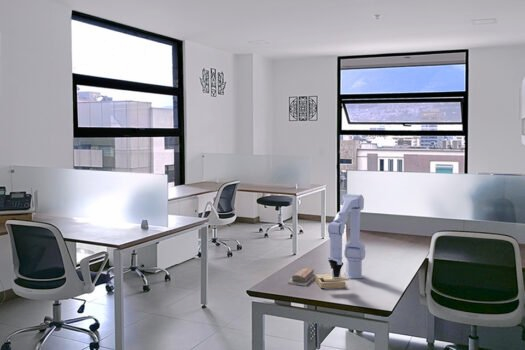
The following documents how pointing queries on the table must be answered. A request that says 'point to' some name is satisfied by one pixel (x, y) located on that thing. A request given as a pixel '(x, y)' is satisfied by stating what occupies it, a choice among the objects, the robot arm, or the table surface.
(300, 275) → the packaged product
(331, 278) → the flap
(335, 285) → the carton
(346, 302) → the table surface
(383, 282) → the table surface
